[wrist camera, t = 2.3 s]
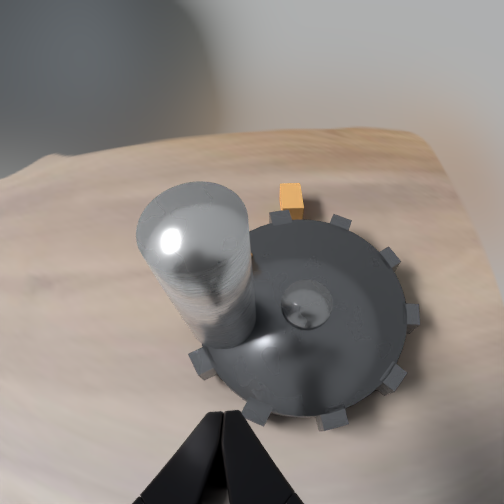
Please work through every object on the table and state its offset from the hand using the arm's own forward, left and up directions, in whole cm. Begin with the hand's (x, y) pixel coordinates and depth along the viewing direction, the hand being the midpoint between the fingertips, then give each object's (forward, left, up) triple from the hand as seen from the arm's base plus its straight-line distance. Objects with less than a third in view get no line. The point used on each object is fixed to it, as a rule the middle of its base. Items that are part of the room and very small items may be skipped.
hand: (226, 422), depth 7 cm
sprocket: (+2, -7, -12) cm, 14 cm away
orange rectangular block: (+9, -14, -12) cm, 20 cm away
